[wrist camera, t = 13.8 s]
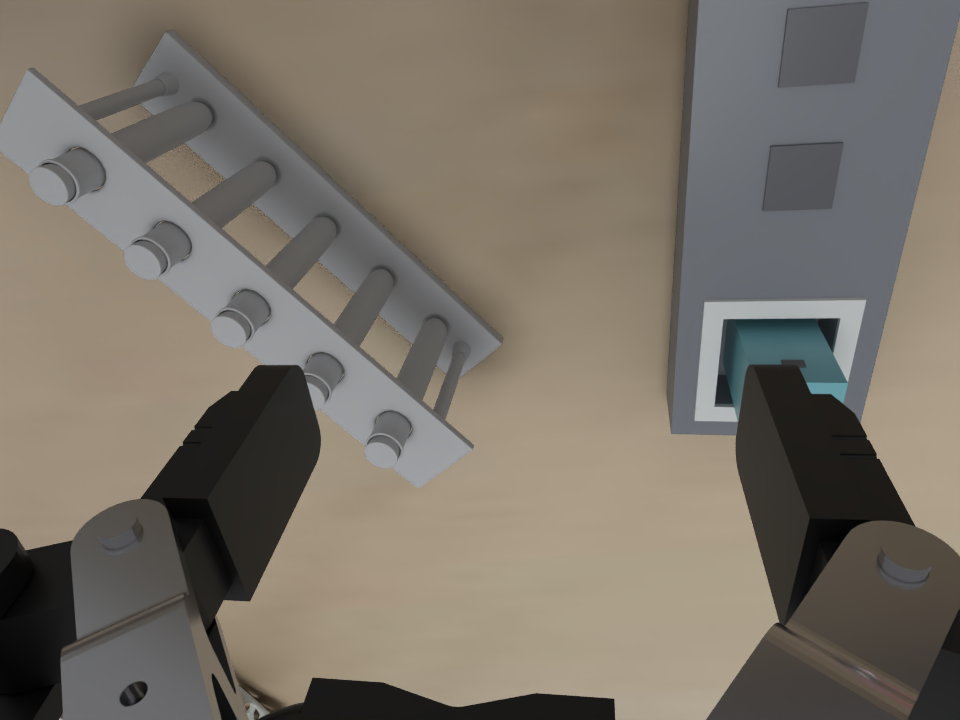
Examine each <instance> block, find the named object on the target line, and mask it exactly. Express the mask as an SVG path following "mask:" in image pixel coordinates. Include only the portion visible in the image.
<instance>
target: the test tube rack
mask: <svg viewBox="0 0 960 720" xmlns="http://www.w3.org/2000/svg"><path fill="white" fill-rule="evenodd" d="M138 104H141V105H142V106H143V107H144V108H146V109H147V110H148V111H149V112H150V113H151V114H152V115H154V116H151V117H149V118H147V119H144V120H142V121H140V122H137V123H135V124H133V125H130V126H128V127H126V128H123V129H121V130H119V131H116V132H114V133H112V134H111V133H110V132H108V131H107V130H106V129H105V128H104V127H103V126H101V125H100V124H99V123H98V122H97V121H96V120H99V119H101V118H104V117H107V116H109V115H112V114H114V113H117V112H119V111H122V110H125V109H127V108H130V107H132V106H135V105H138ZM183 143H185V144H186V145H188V146H189V147H190V148H191V149H192V150H193V151H194V152H195V153H197V154H198V155H199V156H200V157H201V158H202V159H203V160H205V161H206V162H207V163H208V164H209V165H210V166H211V167H212V168H214V169H215V170H216V171H217V172H218V173H219V174H220V175H221V176H223V177H224V178H225V179H226V180H225V181H223V182H222V183H220V184H219V185H217V186H216V187H214V188H213V189H211V190H210V191H208V192H207V193H205V194H204V195H202V196H201V197H199V198H198V199H196V200H195V201H193V202H192V203H191V202H190V201H189V200H188V199H186V198H185V197H184V196H183V195H182V194H181V193H179V192H178V191H177V190H176V189H175V188H174V187H172V186H171V185H170V184H169V183H168V182H167V181H165V180H164V179H163V178H162V177H161V176H160V175H158V174H157V173H156V172H155V171H154V170H153V169H151V168H150V167H149V166H148V165H147V164H146V163H147V162H149V161H151V160H153V159H155V158H157V157H158V156H160V155H162V154H164V153H166V152H168V151H170V150H172V149H174V148H176V147H178V146H180V145H181V144H183ZM75 147H79V148H76V149H74V150H72V151H70V150H71V149H72V148H75ZM0 152H1V153H2V154H4V155H5V156H6V157H7V158H9V159H10V160H11V161H12V162H14V163H15V164H16V165H17V166H19V167H20V168H21V169H22V170H23V171H25V172H26V173H27V174H28V175H29V182H30V185H31V187H32V189H33V191H34V192H35V194H36V195H37V196H38V197H39V198H40V199H42V200H43V201H44V202H46V203H48V204H50V205H54V206H61V205H63V204H64V205H67V206H68V207H69V208H71V209H72V210H73V211H74V212H76V213H77V214H78V215H79V216H81V217H82V218H83V219H84V220H86V221H87V222H88V223H89V224H90V225H92V226H93V227H94V228H95V229H97V230H98V231H99V232H100V233H102V234H103V235H104V236H105V237H107V238H108V239H109V240H110V241H112V242H113V243H114V244H115V245H117V246H118V247H119V248H120V249H121V250H123V251H124V260H125V263H126V265H127V266H128V268H129V269H130V270H131V271H132V272H133V273H134V274H135V275H137V276H138V277H140V278H143V279H146V280H153V279H156V278H157V279H159V280H160V281H161V282H162V283H164V284H165V285H166V286H167V287H169V288H170V289H171V290H172V291H174V292H175V293H176V294H177V295H179V296H180V297H181V298H182V299H183V300H185V301H186V302H187V303H188V304H190V305H191V306H192V307H193V308H195V309H196V310H197V311H198V312H200V313H201V314H202V315H203V316H205V317H206V318H207V319H208V320H210V321H211V322H212V323H211V331H212V333H213V335H214V337H215V338H216V339H217V340H218V341H219V342H220V343H222V344H223V345H225V346H228V347H231V348H238V347H241V346H242V347H243V348H244V349H246V350H247V351H248V352H249V353H250V354H252V355H253V356H254V357H255V358H257V359H258V360H259V361H260V362H262V363H263V364H264V365H298V366H300V367H301V368H302V370H303V372H304V374H305V377H306V381H307V385H308V388H309V392H310V396H311V399H312V403H313V407H314V410H319V409H320V410H321V411H322V412H324V413H325V414H326V415H327V416H329V417H330V418H331V419H332V420H334V421H335V422H336V423H337V424H338V425H340V426H341V427H342V428H343V429H345V430H346V431H347V432H348V433H350V434H351V435H352V436H353V437H355V438H356V439H357V440H358V441H360V442H361V443H362V444H363V445H364V446H365V447H366V448H365V456H366V458H367V459H368V461H369V462H370V463H372V464H373V465H375V466H377V467H380V468H391V467H392V468H393V469H394V470H395V471H397V472H398V473H399V474H400V475H402V476H403V477H404V478H405V479H407V480H408V481H409V482H410V483H412V484H413V485H414V486H415V487H417V488H420V487H421V486H423V485H424V484H426V483H427V482H428V481H430V480H431V479H433V478H434V477H435V476H437V475H438V474H440V473H441V472H442V471H444V470H445V469H447V468H448V467H450V466H451V465H452V464H454V463H455V462H457V461H458V460H459V459H461V458H462V457H464V456H465V455H466V454H468V453H469V452H471V451H472V450H473V447H474V445H473V444H472V443H471V442H470V441H469V440H468V439H466V438H465V437H464V436H463V435H462V434H461V433H459V432H458V431H457V430H456V429H455V428H454V427H452V426H451V425H450V424H449V423H448V422H447V421H445V419H446V416H447V413H448V410H449V407H450V404H451V401H452V398H453V395H454V392H455V389H456V386H457V383H458V380H459V378H460V377H462V376H463V375H464V374H466V373H467V372H468V371H469V370H471V369H472V368H473V367H474V366H476V365H477V364H478V363H479V362H481V361H482V360H483V359H484V358H486V357H487V356H488V355H489V354H491V353H492V352H493V351H494V350H496V349H497V348H498V347H499V346H501V345H502V342H503V338H502V337H501V336H500V335H499V334H498V333H497V332H496V331H495V330H494V329H492V328H491V327H490V326H489V325H488V324H487V323H486V322H485V321H484V320H483V319H482V318H481V317H480V316H479V315H477V314H476V313H475V312H474V311H473V310H472V309H471V308H470V307H469V306H468V305H467V304H466V303H465V302H463V301H462V300H461V299H460V298H459V297H458V296H457V295H456V294H455V293H454V292H453V291H452V290H451V289H450V288H448V287H447V286H446V285H445V284H444V283H443V282H442V281H441V280H440V279H439V278H438V277H437V276H436V275H435V274H433V273H432V272H431V271H430V270H429V269H428V268H427V267H426V266H425V265H424V264H423V263H422V262H421V261H420V260H418V259H417V258H416V257H415V256H414V255H413V254H412V253H411V252H410V251H409V250H408V249H407V248H406V247H405V246H403V245H402V244H401V243H400V242H399V241H398V240H397V239H396V238H395V237H394V236H393V235H392V234H391V233H390V232H388V231H387V230H386V229H385V228H384V227H383V226H382V225H381V224H380V223H379V222H378V221H377V220H376V219H375V218H373V217H372V216H371V215H370V214H369V213H368V212H367V211H366V210H365V209H364V208H363V207H362V206H361V205H360V204H358V203H357V202H356V201H355V200H354V199H353V198H352V197H351V196H350V195H349V194H348V193H347V192H346V191H345V190H343V189H342V188H341V187H340V186H339V185H338V184H337V183H336V182H335V181H334V180H333V179H332V178H331V177H330V176H328V175H327V174H326V173H325V172H324V171H323V170H322V169H321V168H320V167H319V166H318V165H317V164H316V163H315V162H314V161H312V160H311V159H310V158H309V157H308V156H307V155H306V154H305V153H304V152H303V151H302V150H301V149H300V148H299V147H297V146H296V145H295V144H294V143H293V142H292V141H291V140H290V139H289V138H288V137H287V136H286V135H285V134H284V133H282V132H281V131H280V130H279V129H278V128H277V127H276V126H275V125H274V124H273V123H272V122H271V121H270V120H269V119H267V118H266V117H265V116H264V115H263V114H262V113H261V112H260V111H259V110H258V109H257V108H256V107H255V106H254V105H252V104H251V103H250V102H249V101H248V100H247V99H246V98H245V97H244V96H243V95H242V94H241V93H240V92H239V91H237V90H236V89H235V88H234V87H233V86H232V85H231V84H230V83H229V82H228V81H227V80H226V79H225V78H224V77H222V76H221V75H220V74H219V73H218V72H217V71H216V70H215V69H214V68H213V67H212V66H211V65H210V64H209V63H208V62H206V61H205V60H204V59H203V58H202V57H201V56H200V55H199V54H198V53H197V52H196V51H195V50H194V49H193V48H192V47H190V46H189V45H188V44H187V43H186V42H185V41H184V40H183V39H182V38H181V37H180V36H179V35H178V34H176V33H175V32H174V31H173V30H171V31H167V32H165V34H164V35H163V37H162V39H161V40H160V42H159V44H158V45H157V47H156V49H155V50H154V52H153V54H152V55H151V57H150V59H149V60H148V62H147V64H146V65H145V67H144V69H143V70H142V72H141V74H140V75H139V77H138V79H137V80H136V82H135V84H134V85H133V87H132V88H129V89H126V90H123V91H120V92H117V93H115V94H112V95H109V96H106V97H103V98H100V99H97V100H94V101H92V102H89V103H86V104H83V105H80V106H78V105H77V104H76V103H75V102H73V101H72V100H71V99H70V98H69V97H68V96H66V95H65V94H64V93H63V92H62V91H61V90H59V89H58V88H57V87H56V86H55V85H53V84H52V83H51V82H50V81H49V80H48V79H46V78H45V77H44V76H43V75H42V74H41V73H39V72H38V71H37V70H36V69H35V68H30V69H27V71H26V73H25V75H24V77H23V79H22V81H21V83H20V85H19V87H18V89H17V91H16V93H15V95H14V97H13V99H12V101H11V103H10V105H9V107H8V109H7V111H6V114H5V116H4V118H3V120H2V122H1V124H0ZM101 186H102V187H101ZM99 187H101V188H100V189H98V190H95V189H97V188H99ZM252 204H254V205H255V206H257V207H258V208H259V209H260V210H261V211H262V212H263V213H264V214H266V215H267V216H268V217H269V218H270V219H271V220H272V221H274V222H275V223H276V224H277V225H278V226H279V227H280V228H281V229H283V230H284V231H285V232H286V233H287V234H288V235H289V236H291V237H292V238H293V239H292V240H291V241H290V242H289V243H288V244H287V245H286V246H285V247H284V248H283V249H282V250H281V251H280V252H279V253H278V254H277V255H276V256H275V257H274V258H273V259H272V260H271V261H270V262H269V263H268V264H267V265H266V266H265V265H263V264H262V263H261V262H260V261H259V260H258V259H256V258H255V257H254V256H253V255H252V254H251V253H249V252H248V251H247V250H246V249H245V248H244V247H242V246H241V245H240V244H239V243H238V242H237V241H235V240H234V239H233V238H232V237H231V236H230V235H228V234H227V233H226V232H225V231H224V230H223V229H221V228H222V227H224V226H225V225H226V224H227V223H229V222H230V221H231V220H233V219H234V218H235V217H236V216H238V215H239V214H240V213H241V212H243V211H244V210H245V209H246V208H248V207H249V206H250V205H252ZM162 221H164V222H162ZM160 222H162V223H161V224H159V225H158V226H156V225H157V224H158V223H160ZM155 226H156V227H155ZM189 253H190V255H189V256H188V257H186V256H187V255H188V254H189ZM184 257H186V258H185V259H183V258H184ZM317 260H318V261H319V262H320V263H321V264H322V265H323V266H324V267H326V268H327V269H328V270H329V271H330V272H331V273H332V274H334V275H335V276H336V277H337V278H338V279H339V280H340V281H341V282H343V283H344V284H345V285H346V286H347V287H348V288H349V289H350V290H352V291H353V292H354V293H355V294H354V296H353V297H352V299H351V300H350V301H349V303H348V304H347V306H346V307H345V309H344V310H343V312H342V313H341V315H340V316H339V317H338V319H337V320H336V322H335V323H334V325H333V324H332V323H331V322H330V321H329V320H328V319H326V318H325V317H324V316H323V315H322V314H321V313H319V312H318V311H317V310H316V309H315V308H314V307H312V306H311V305H310V304H309V303H308V302H307V301H305V300H304V299H303V298H302V297H301V296H300V295H298V294H297V293H296V292H295V291H294V290H293V288H294V287H295V286H296V285H297V283H298V282H299V281H300V280H301V279H302V278H303V277H304V275H305V274H306V273H307V272H308V271H309V270H310V268H311V267H312V266H313V265H314V264H315V263H316V261H317ZM240 290H241V291H240ZM239 291H240V292H239ZM238 292H239V293H238ZM236 293H238V294H237V295H236ZM235 295H236V296H235ZM378 314H379V315H380V316H381V317H382V318H383V319H384V320H386V321H387V322H388V323H389V324H390V325H391V326H392V327H393V328H395V329H396V330H397V331H398V332H399V333H400V334H401V335H403V336H404V337H405V338H406V339H407V340H408V341H409V342H410V343H412V344H413V345H412V347H411V349H410V351H409V353H408V355H407V358H406V360H405V362H404V364H403V366H402V368H401V370H400V373H399V375H398V377H397V379H396V378H395V377H394V376H393V375H392V374H391V373H389V372H388V371H387V370H386V369H385V368H384V367H382V366H381V365H380V364H379V363H378V362H377V361H375V360H374V359H373V358H372V357H371V356H370V355H368V354H367V353H366V352H365V351H364V350H363V349H361V348H360V347H359V346H360V345H361V343H362V341H363V340H364V338H365V336H366V334H367V333H368V331H369V329H370V328H371V326H372V324H373V323H374V321H375V319H376V317H377V316H378ZM269 316H270V317H269ZM268 317H269V319H268V320H267V321H266V322H265V320H266V319H267V318H268ZM310 356H312V357H311V358H310ZM309 358H310V360H309V361H308V359H309ZM436 366H438V367H439V368H440V369H441V370H442V371H443V372H444V373H445V374H446V376H445V379H444V382H443V385H442V387H441V390H440V393H439V396H438V398H437V401H436V404H435V407H434V409H431V408H430V407H429V406H428V405H427V404H426V403H424V402H423V401H422V400H423V397H424V395H425V392H426V390H427V387H428V385H429V382H430V379H431V377H432V374H433V372H434V369H435V367H436ZM343 373H344V376H343V377H342V375H343ZM341 377H342V379H341V380H340V378H341ZM378 416H379V418H378V420H377V417H378ZM376 420H377V422H376ZM411 428H412V432H411V433H410V430H411ZM409 433H410V434H409Z"/></svg>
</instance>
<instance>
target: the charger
mask: <svg viewBox="0 0 960 720" xmlns="http://www.w3.org/2000/svg"><path fill="white" fill-rule="evenodd" d="M751 364H796V365H797V366H798V367H799V369H800V371H801V373H802V375H803V377H804V379H805V381H806V383H807V385H808V388H809V390H810V392H811V394H832V395H833V396H834V397H835V398H837V399H838V400H839V401H840V402H841V403H844V398H845V394H846V390H847V385H848V382H847V380H846V378H845V376H844V374H843V372H842V370H841V368H840V366H839V365H838V363H837V361H836V359H835V357H834V355H833V353H832V351H831V349H830V347H829V345H828V343H827V341H826V339H825V337H824V335H823V333H822V332H821V330H820V328H819V326H818V324H817V322H816V320H815V318H800V319H727V327H726V337H725V346H724V355H723V365H724V369H725V373H726V377H727V381H728V385H729V389H730V393H731V397H732V401H733V405H734V409H735V412H736V416H737V420H739V414H740V407H741V400H742V393H743V387H744V380H745V374H746V370H747V367H748V366H749V365H751Z"/></svg>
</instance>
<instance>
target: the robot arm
mask: <svg viewBox="0 0 960 720" xmlns="http://www.w3.org/2000/svg"><path fill="white" fill-rule="evenodd" d="M194 427H195V430H191V432H190V433H189V434H188V436H187V437H186V439H185V440H184V441H183V446H180V447H179V448H178V449H177V451H176V452H175V453H174V455H173V456H172V457H171V459H170V460H169V461H168V463H167V464H166V465H165V467H164V468H163V469H162V471H161V472H160V473H159V475H158V476H157V477H156V479H155V480H154V481H153V483H152V484H151V485H150V487H149V488H148V489H147V491H146V492H145V493H144V495H143V496H142V497H141V499H137V500H130V501H126V502H122V503H119V504H116V505H114V506H112V507H110V508H107V509H106V510H104V511H102V512H100V513H99V514H97V515H96V516H94V517H93V518H92V519H90V520H89V521H88V522H87V523H86V524H85V525H84V526H83V527H82V528H81V529H80V530H79V531H78V533H77V534H76V536H75V537H74V539H73V540H72V541H68V542H63V543H58V544H54V545H49V546H44V547H40V548H35V549H31V550H25V549H24V547H23V546H22V544H21V543H20V541H19V540H18V538H17V537H16V535H15V534H14V533H13V532H11V531H9V530H6V529H0V720H59V718H60V717H61V715H62V713H63V720H249V718H248V716H247V713H246V710H245V707H244V703H243V700H242V697H241V693H240V690H239V686H238V683H237V680H236V676H235V673H234V669H233V666H232V663H231V659H230V656H229V652H228V649H227V646H226V642H225V639H224V635H223V632H222V629H221V625H220V623H219V621H218V618H217V616H216V614H217V612H218V610H219V608H220V606H221V604H222V602H223V600H233V601H250V600H251V598H252V596H253V594H254V592H255V590H256V588H257V586H258V584H259V582H260V579H261V577H262V575H263V573H264V571H265V569H266V567H267V565H268V563H269V561H270V559H271V557H272V555H273V552H274V550H275V548H276V546H277V544H278V542H279V540H280V538H281V536H282V534H283V532H284V530H285V527H286V525H287V523H288V521H289V519H290V517H291V515H292V513H293V511H294V509H295V507H296V505H297V503H298V500H299V498H300V496H301V494H302V492H303V490H304V488H305V486H306V484H307V482H308V480H309V478H310V475H311V473H312V471H313V469H314V467H315V465H316V463H317V461H318V457H319V453H320V446H321V436H320V429H319V425H318V421H317V418H316V414H315V410H314V407H313V403H312V399H311V396H310V392H309V388H308V385H307V381H306V377H305V374H304V372H303V370H302V368H301V367H300V366H298V365H258V366H257V367H255V368H254V370H253V371H252V372H251V374H250V375H249V377H248V378H247V379H246V381H245V382H244V384H243V385H242V386H241V388H240V389H239V391H231V392H229V393H228V394H227V395H225V396H224V397H222V398H221V399H220V400H218V401H217V402H216V403H214V404H213V405H212V406H210V407H209V408H208V409H207V410H206V412H205V413H204V414H203V416H202V417H201V418H200V420H199V421H198V422H197V424H196V425H195V426H194ZM876 455H877V454H876V452H875V450H874V448H873V446H872V444H871V443H870V441H869V440H867V435H866V433H865V431H864V430H863V428H862V426H861V424H860V422H859V420H858V418H857V416H856V415H855V413H854V412H853V411H851V410H850V409H849V408H848V407H846V406H845V405H844V404H843V403H841V402H840V401H839V400H838V399H837V398H835V397H834V396H833V395H832V394H811V392H810V390H809V388H808V385H807V383H806V381H805V379H804V377H803V375H802V373H801V371H800V369H799V367H798V366H797V365H796V364H751V365H749V366H748V367H747V370H746V374H745V380H744V387H743V393H742V400H741V407H740V414H739V420H738V427H737V434H736V461H737V468H738V472H739V476H740V480H741V483H742V487H743V491H744V494H745V498H746V502H747V505H748V509H749V513H750V516H751V520H752V524H753V527H754V531H755V535H756V538H757V542H758V546H759V549H760V553H761V556H762V560H763V564H764V567H765V571H766V575H767V578H768V582H769V586H770V589H771V593H772V597H773V600H774V604H775V608H776V611H777V615H778V619H779V622H780V623H776V624H774V625H773V626H772V627H771V628H770V629H769V630H768V632H767V633H766V634H765V636H764V637H763V638H762V640H761V641H760V643H759V644H758V646H757V647H756V648H755V650H754V651H753V653H752V654H751V656H750V657H749V659H748V660H747V661H746V663H745V664H744V666H743V667H742V669H741V670H740V671H739V673H738V674H737V676H736V677H735V679H734V680H733V682H732V683H731V684H730V686H729V687H728V689H727V690H726V692H725V693H724V695H723V696H722V697H721V699H720V700H719V702H718V703H717V705H716V706H715V708H714V709H713V710H712V712H711V713H710V715H709V716H708V718H707V719H706V720H960V556H959V555H958V554H957V553H956V552H955V551H954V550H953V549H952V548H951V547H950V546H949V545H948V544H946V543H945V542H944V541H942V540H941V539H939V538H938V537H936V536H934V535H933V534H931V533H929V532H927V531H925V530H923V529H920V528H917V527H915V525H914V523H913V521H912V519H911V517H910V515H909V514H908V512H907V510H906V508H905V506H904V504H903V502H902V501H901V499H900V497H899V495H898V493H897V491H896V489H895V487H894V486H893V484H892V482H891V480H890V478H889V476H888V474H887V473H886V471H885V469H884V467H883V465H882V463H881V461H880V459H877V457H876ZM257 720H615V705H614V699H610V698H595V697H581V696H567V695H552V694H538V693H536V694H530V695H525V696H519V697H514V698H508V699H503V700H497V701H492V702H486V703H481V704H475V705H470V706H464V707H452V706H448V705H445V704H442V703H439V702H436V701H433V700H431V699H428V698H425V697H422V696H419V695H417V694H414V693H411V692H408V691H405V690H402V689H400V688H397V687H394V686H391V685H388V684H385V683H381V682H367V681H352V680H338V679H324V678H312V681H311V684H310V687H309V690H308V692H307V695H306V698H305V701H304V703H298V704H295V705H291V706H288V707H285V708H282V709H279V710H276V711H274V712H272V713H269V714H267V715H265V716H263V717H260V718H259V719H257Z"/></svg>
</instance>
